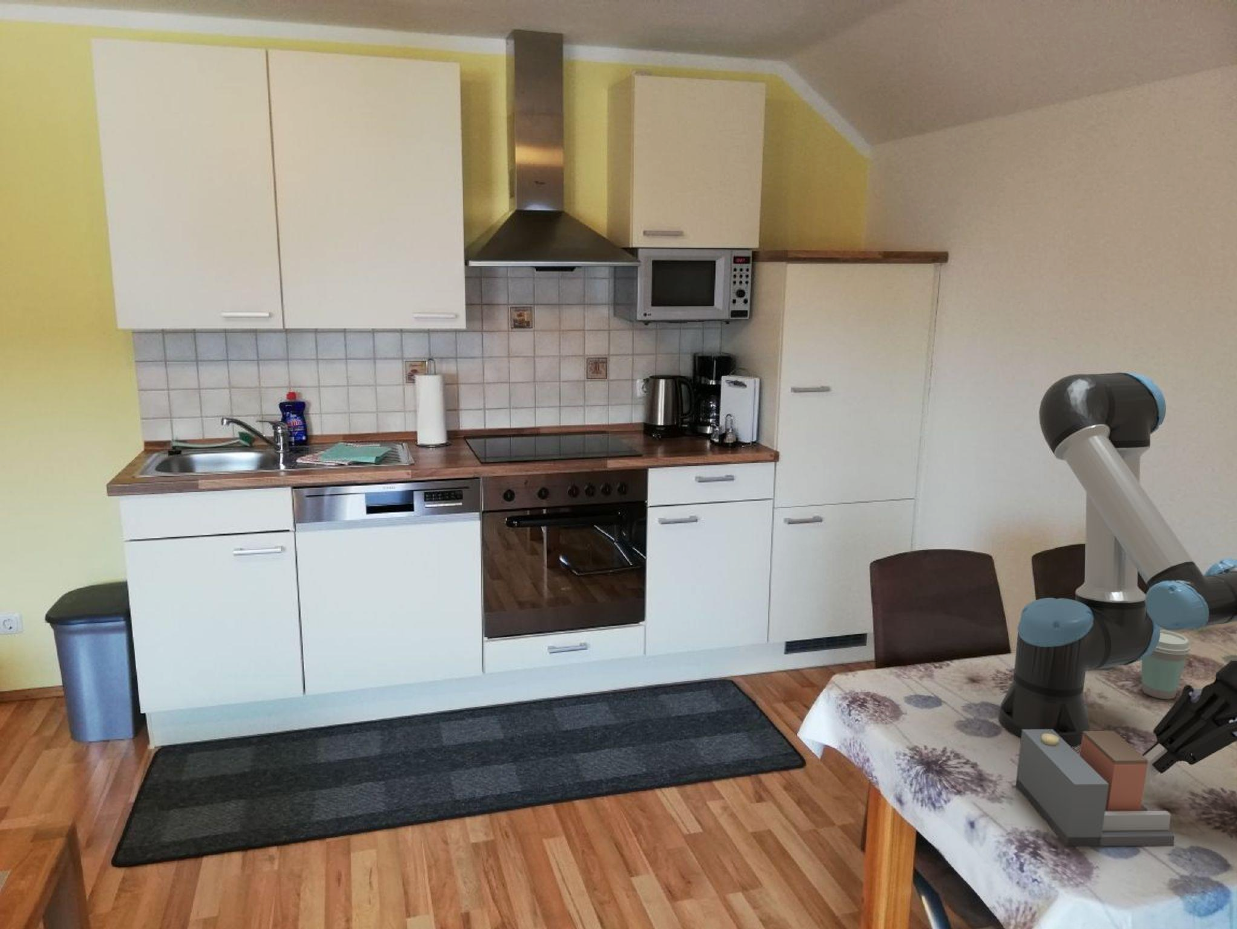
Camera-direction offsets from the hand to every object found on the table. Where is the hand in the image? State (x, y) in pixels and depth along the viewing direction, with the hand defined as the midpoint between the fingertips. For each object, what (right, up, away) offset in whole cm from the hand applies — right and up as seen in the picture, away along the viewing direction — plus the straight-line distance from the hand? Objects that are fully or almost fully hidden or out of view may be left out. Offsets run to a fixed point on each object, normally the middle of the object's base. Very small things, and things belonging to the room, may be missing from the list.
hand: (1134, 778), depth 139 cm
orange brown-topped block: (-4, -4, +1) cm, 6 cm away
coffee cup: (+29, +2, +43) cm, 52 cm away
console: (-6, -6, +1) cm, 9 cm away
